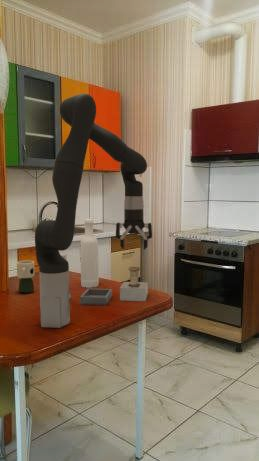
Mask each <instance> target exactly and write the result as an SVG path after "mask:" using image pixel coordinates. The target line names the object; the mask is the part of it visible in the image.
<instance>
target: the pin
mask: <svg viewBox="0 0 259 461" xmlns="http://www.w3.org/2000/svg"><path fill="white" fill-rule="evenodd" d="M140 268H141V267H139V266H129V267H128V271H130V272H129V274H130V275H129V280H130V281H129V282H130V286H134V287H138V282H139V271H140V270H141V269H140Z"/></svg>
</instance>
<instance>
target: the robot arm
mask: <svg viewBox="0 0 259 461" xmlns="http://www.w3.org/2000/svg"><path fill="white" fill-rule="evenodd" d="M59 114H60V116H61V118H62V120H63V121H64V122H65V123H66V124H67V125H69V127H70V131H69V134H68V136H67V138H66V139H65V141H64V143H63V144H62V146H61V147H60V149H59V151H58V153H57V155H56V157H55V161H54V166H53V171H52V178H51V179H52V185H53V189H54V192H55V195H56V200H57V211H56V216H55V220H50V219H48V220H47V219H45V220H42V221H40V222H39V223H38V224H37V226H36V228H35V232H34V246H35V258H36V263H37V265H38V268H39V273H38V274H39V303H40V305H39V306H40V309H39V310H40V325H41V326H40V327H41V328H56V329H60V328H62V327H64V326H67V325H68V324H70V323H71V322H70V321H71V319H70V318H71V313H70V312H71V310H70V309H71V308H70V307H71V306H70V300H69V293H70V269H69V268H70V266H69V261H68V260H67V259H66V260H65V259H64V258H63V257H62V256H61V255H60V253H61V251H66V250H67V249H69V248H70V247H71V245H72V242H73V240H74V236H75V227H76V215H77V214H76V213H77V205H78V200H79V192H80V187H81V182H82V179H83V172H84V165H85V161H86V155H87V150H88V145H89V141H90V140H91V141H92V142H93V143H95V144H96V145H97V146H99V148H101V149H102V150H103V151H104V152H105V153H107V154H108V156H110V157H111V158H112V159H113V160H114V161H115V162H117V163H120V173H121V176H122V180H123V184H124V202H123V208H124V209H123V210H124V212H123V213H124V214H123V215H124V216H123V217H124V218H123V219H124V220H123V221H124V222H123V223H122V222H117V223H116V225H115V238H116V239H119V240H120V242H119V243H120V244H119V245H120V248H121V249H122V250H124V249H125V238H126V236H127V235H128V234H129V235H132V234H134V235H138V234H140V236H141V237H142V239H143V250H146V249H147V248H148V241H149V240H150V239H152V238H153V229H152V228H153V227H152V222H144V207H145V205H144V197H143V196H144V194H143V193H144V188H143V183H142V182H141V181H140V180H137V179H136V176H137V175H143V174H144V173H145V172H146V171H147V168H148V163H147V160H146V159H145V157H144V156H143V155H142V154H141V153H139V152H138V151H136V150H134V149H133V148H131V147H129V146H128V145H127V144H126V143H125V142H124V140H122V139H121V138H120V136H118V135H116V134H115V133H114V132H112V131H110V130H109V129H106V128H104V127H102V126H100V125H99V124H97V123H95V121H96V116H97V105H96V101H95V98H93V96H92V95H90V94H89V93H79V94H76V95H73V96H70V97H67V98H66V99H64V100H63V101H61V103H60V105H59ZM144 227H145V228H146V229H147V231H148V233H147V234H148V235H147V234H146V233H145V231H144V230H143V229H144ZM122 228H124V229H125V231H124V232H123V233H122V234H120V233H121V229H122Z"/></svg>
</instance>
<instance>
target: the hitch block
mask: <svg viewBox="0 0 259 461" xmlns="http://www.w3.org/2000/svg"><path fill="white" fill-rule="evenodd" d="M148 286H149V285H148V281H147V282H143V281H138V287H134V286H130V281H122V284H121V285H120V287H119V301H122V302H123V301H124V302H127V301H128V302H146V301H147V298H148V295H149V294H148V292H149V290H148V289H149V287H148Z"/></svg>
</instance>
